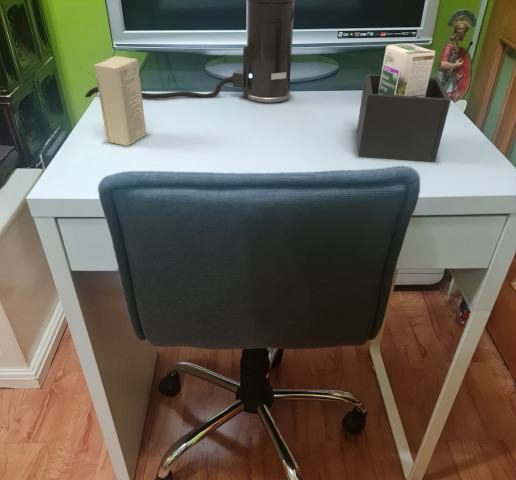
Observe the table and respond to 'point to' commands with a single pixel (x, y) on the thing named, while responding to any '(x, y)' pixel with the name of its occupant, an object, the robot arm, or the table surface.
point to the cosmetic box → (121, 99)
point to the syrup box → (406, 70)
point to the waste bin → (401, 122)
